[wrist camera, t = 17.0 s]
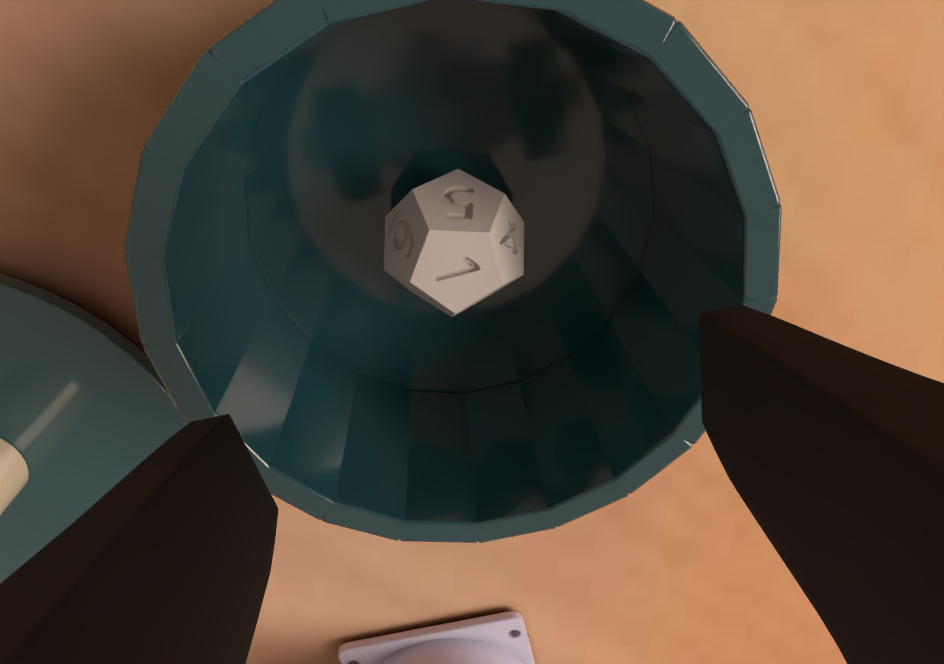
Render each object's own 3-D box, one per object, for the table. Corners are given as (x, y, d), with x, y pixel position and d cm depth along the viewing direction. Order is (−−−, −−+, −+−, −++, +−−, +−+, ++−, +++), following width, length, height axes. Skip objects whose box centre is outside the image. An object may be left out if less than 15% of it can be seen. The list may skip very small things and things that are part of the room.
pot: (680, 356, 20) (769, 487, 15) (314, 432, 20) (275, 584, 15) (659, -96, 14) (799, -148, 9) (140, 32, 14) (-25, 57, 9)
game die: (366, 181, 16) (355, 219, 13) (504, 144, 16) (519, 174, 13) (407, 298, 18) (403, 351, 15) (531, 266, 17) (549, 314, 15)
